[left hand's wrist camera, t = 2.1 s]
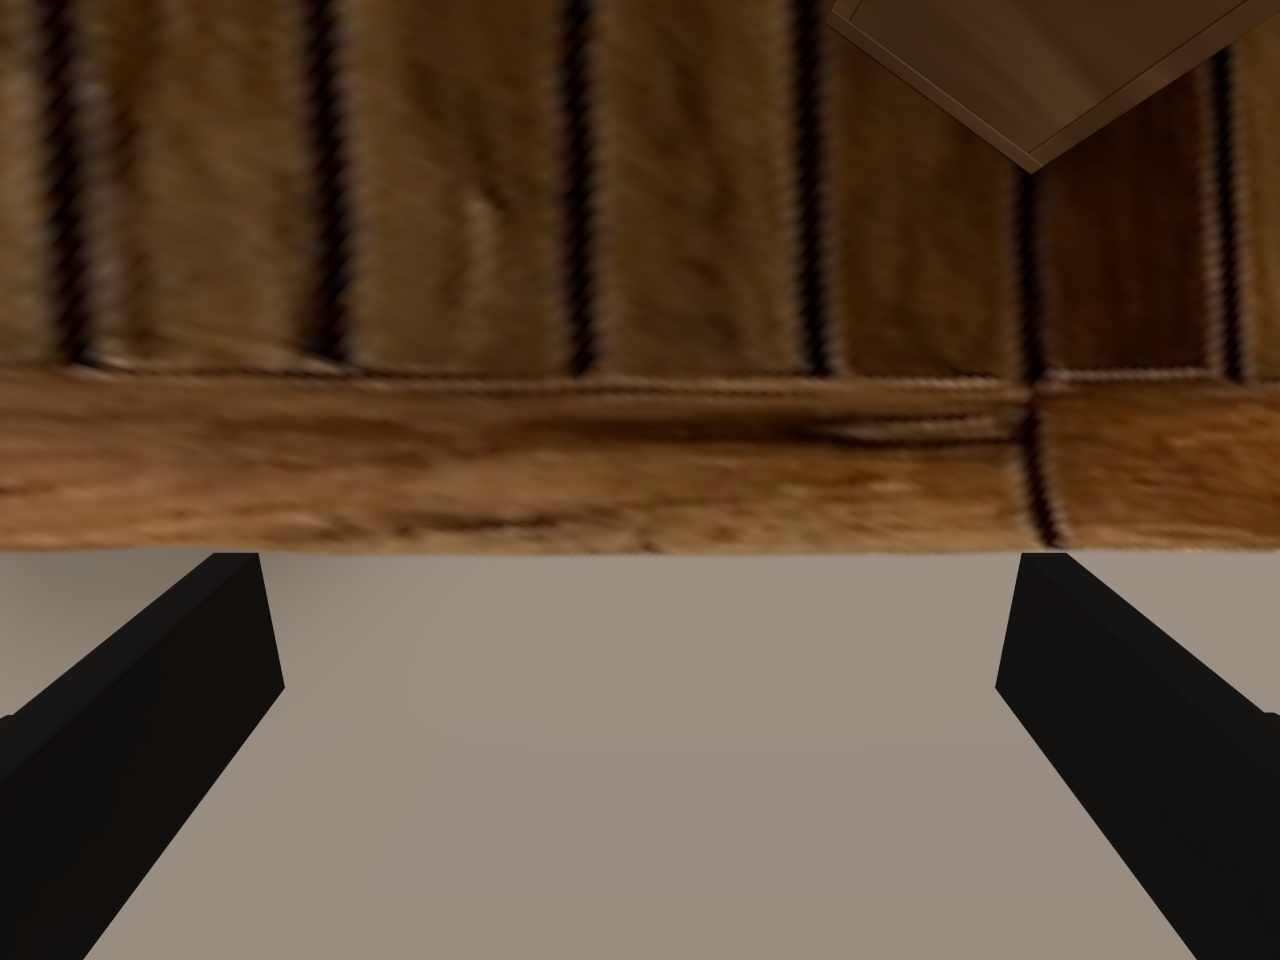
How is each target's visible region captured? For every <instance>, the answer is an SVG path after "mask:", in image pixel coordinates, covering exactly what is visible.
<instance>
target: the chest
mask: <svg viewBox="0 0 1280 960" xmlns="http://www.w3.org/2000/svg"><path fill="white" fill-rule="evenodd" d="M1278 12H1280V0H837V1H836V3H835V5H834V7H833V8H832V10H831V12H830V13H829V15H828V17H827V19H826V20H825V23H827V24H828V25H829V26H831V27H832V28H833V29H835V30H836V31H837V32H839V33H840V34H841V35H843V36H844V37H845V38H847V39H848V40H850V41H851V42H852V43H854V44H855V45H856V46H858V47H859V48H860V49H862V50H863V51H864V52H866V53H867V54H869V55H870V56H871V57H873V58H874V59H875V60H877V61H878V62H879V63H881V64H882V65H883V66H885V67H886V68H888V69H889V70H890V71H892V72H893V73H894V74H896V75H897V76H898V77H900V78H901V79H902V80H904V81H905V82H906V83H908V84H909V85H911V86H912V87H913V88H915V89H916V90H917V91H919V92H920V93H921V94H923V95H924V96H925V97H927V98H928V99H930V100H931V101H932V102H934V103H935V104H936V105H938V106H939V107H940V108H942V109H943V110H944V111H946V112H947V113H949V114H950V115H951V116H953V117H954V118H955V119H957V120H958V121H959V122H961V123H962V124H963V125H965V126H966V127H967V128H969V129H970V130H972V131H973V132H974V133H976V134H977V135H978V136H980V137H981V138H982V139H984V140H985V141H986V142H988V143H989V144H991V145H992V146H993V147H995V148H996V149H997V150H999V151H1000V152H1001V153H1003V154H1004V155H1005V156H1007V157H1008V158H1010V159H1011V160H1012V161H1014V162H1015V163H1016V164H1018V165H1019V166H1020V167H1022V168H1023V169H1024V170H1026V171H1027V172H1028V173H1030V174H1032V173H1034V172H1035V171H1037V170H1038V169H1040V168H1042V167H1043V166H1044V165H1046V164H1047V163H1049V162H1050V161H1052V160H1053V159H1055V158H1056V157H1058V156H1059V155H1061V154H1062V153H1064V152H1066V151H1067V150H1069V149H1070V148H1072V147H1073V146H1075V145H1076V144H1078V143H1079V142H1081V141H1082V140H1084V139H1085V138H1087V137H1088V136H1090V135H1091V134H1093V133H1095V132H1096V131H1098V130H1099V129H1101V128H1102V127H1104V126H1105V125H1107V124H1108V123H1110V122H1111V121H1113V120H1114V119H1116V118H1117V117H1119V116H1121V115H1122V114H1124V113H1125V112H1127V111H1128V110H1130V109H1131V108H1133V107H1134V106H1136V105H1137V104H1139V103H1140V102H1142V101H1143V100H1145V99H1147V98H1148V97H1150V96H1151V95H1153V94H1154V93H1156V92H1157V91H1159V90H1160V89H1162V88H1163V87H1165V86H1166V85H1168V84H1169V83H1171V82H1173V81H1174V80H1176V79H1177V78H1179V77H1180V76H1182V75H1183V74H1185V73H1186V72H1188V71H1189V70H1191V69H1192V68H1194V67H1195V66H1197V65H1199V64H1200V63H1202V62H1203V61H1205V60H1206V59H1208V58H1209V57H1211V56H1212V55H1214V54H1215V53H1217V52H1218V51H1220V50H1221V49H1223V48H1224V47H1226V46H1228V45H1229V44H1231V43H1232V42H1234V41H1235V40H1237V39H1238V38H1240V37H1241V36H1243V35H1244V34H1246V33H1247V32H1249V31H1250V30H1252V29H1254V28H1255V27H1257V26H1258V25H1260V24H1261V23H1263V22H1264V21H1266V20H1267V19H1269V18H1270V17H1272V16H1273V15H1275V14H1276V13H1278Z"/></svg>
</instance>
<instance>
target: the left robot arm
mask: <svg viewBox="0 0 1280 960" xmlns="http://www.w3.org/2000/svg"><path fill="white" fill-rule="evenodd" d="M284 688H285V686H284V681H283V675H282V670H281V665H280V660H279V655H278V650H277V645H276V640H275V635H274V630H273V625H272V620H271V615H270V610H269V605H268V600H267V595H266V590H265V584H264V580H263V574H262V569H261V564H260V559H259V554H258V553H213V554H212V555H211V556H209V557H208V558H207V559H206V560H204V561H203V562H202V563H201V564H199V565H198V566H197V567H196V568H194V569H193V570H192V571H191V572H189V573H188V574H187V575H186V576H184V577H183V578H182V579H181V580H180V581H178V582H177V583H176V584H174V585H173V586H172V587H171V588H170V589H168V590H167V591H166V592H165V593H163V594H162V595H161V596H160V597H158V598H157V599H156V600H155V601H153V602H152V603H151V604H150V605H148V606H147V607H146V608H145V609H143V610H142V611H141V612H140V613H139V614H137V615H136V616H135V617H134V618H132V619H131V620H130V621H129V622H127V623H126V624H125V625H124V626H122V627H121V628H120V629H119V630H117V631H116V632H115V633H114V634H112V635H111V636H110V637H109V638H108V639H106V640H105V641H104V642H103V643H101V644H100V645H99V646H98V647H96V648H95V649H94V650H93V651H91V652H90V653H89V654H88V655H86V656H85V657H84V658H83V659H82V660H80V661H79V662H78V663H77V664H75V665H74V666H73V667H72V668H70V669H69V670H68V671H67V672H65V673H64V674H63V675H62V676H60V677H59V678H58V679H57V680H55V681H54V682H53V683H52V684H50V685H49V686H48V687H47V688H45V689H44V690H43V691H42V692H41V693H39V694H38V695H37V696H36V697H34V698H33V699H32V700H31V701H29V702H28V703H27V704H26V705H24V706H23V707H22V708H21V709H19V710H18V711H17V712H16V713H14V714H13V715H6V716H4V717H2V718H1V719H0V960H83V959H84V958H85V957H86V955H87V954H88V953H89V951H90V950H91V949H92V947H93V946H94V944H95V943H96V942H97V940H98V939H99V938H100V936H101V935H102V934H103V932H104V931H105V930H106V928H107V927H108V926H109V924H110V923H111V922H112V920H113V919H114V917H115V916H116V915H117V913H118V912H119V911H120V909H121V908H122V907H123V905H124V904H125V903H126V901H127V900H128V899H129V897H130V896H131V895H132V893H133V892H134V891H135V889H136V888H137V887H138V885H139V884H140V882H141V881H142V880H143V878H144V877H145V876H146V874H147V873H148V872H149V870H150V869H151V868H152V866H153V865H154V864H155V862H156V861H157V860H158V858H159V857H160V856H161V854H162V853H163V851H164V850H165V849H166V847H167V846H168V845H169V843H170V842H171V841H172V839H173V838H174V837H175V835H176V834H177V833H178V831H179V830H180V829H181V827H182V826H183V824H184V823H185V822H186V820H187V819H188V818H189V816H190V815H191V814H192V812H193V811H194V810H195V808H196V807H197V806H198V804H199V803H200V802H201V800H202V799H203V798H204V796H205V795H206V794H207V792H208V791H209V789H210V788H211V787H212V785H213V784H214V783H215V781H216V780H217V779H218V777H219V776H220V775H221V773H222V772H223V771H224V769H225V768H226V767H227V765H228V764H229V763H230V761H231V760H232V758H233V757H234V756H235V754H236V753H237V752H238V750H239V749H240V748H241V746H242V745H243V744H244V742H245V741H246V740H247V738H248V737H249V735H250V734H251V733H252V731H253V730H254V729H255V727H256V726H257V725H258V723H259V722H260V721H261V719H262V718H263V717H264V715H265V714H266V713H267V711H268V710H269V709H270V707H271V706H272V705H273V703H274V702H275V701H276V699H277V698H278V696H279V695H280V694H281V692H282V691H283V690H284ZM995 688H996V690H997V691H998V692H999V694H1000V695H1001V696H1002V698H1003V699H1004V701H1005V702H1006V703H1007V705H1008V706H1009V707H1010V708H1011V710H1012V711H1013V713H1014V714H1015V715H1016V717H1017V718H1018V719H1019V721H1020V722H1021V723H1022V725H1023V726H1024V727H1025V729H1026V730H1027V731H1028V733H1029V734H1030V736H1031V737H1032V738H1033V740H1034V741H1035V742H1036V744H1037V745H1038V746H1039V748H1040V749H1041V750H1042V752H1043V753H1044V754H1045V756H1046V757H1047V758H1048V760H1049V761H1050V762H1051V764H1052V765H1053V767H1054V768H1055V769H1056V771H1057V772H1058V773H1059V775H1060V776H1061V777H1062V779H1063V780H1064V781H1065V783H1066V784H1067V785H1068V787H1069V788H1070V789H1071V791H1072V792H1073V793H1074V795H1075V796H1076V798H1077V799H1078V800H1079V802H1080V803H1081V804H1082V806H1083V807H1084V808H1085V810H1086V811H1087V812H1088V814H1089V815H1090V816H1091V818H1092V819H1093V820H1094V822H1095V823H1096V824H1097V826H1098V827H1099V829H1100V830H1101V831H1102V833H1103V834H1104V835H1105V837H1106V838H1107V839H1108V841H1109V842H1110V843H1111V845H1112V846H1113V847H1114V849H1115V850H1116V851H1117V853H1118V854H1119V855H1120V857H1121V858H1122V860H1123V861H1124V862H1125V864H1126V865H1127V866H1128V868H1129V869H1130V870H1131V872H1132V873H1133V874H1134V876H1135V877H1136V878H1137V880H1138V881H1139V882H1140V884H1141V885H1142V887H1143V888H1144V889H1145V891H1146V892H1147V893H1148V895H1149V896H1150V897H1151V899H1152V900H1153V901H1154V903H1155V904H1156V905H1157V907H1158V908H1159V909H1160V911H1161V912H1162V913H1163V915H1164V916H1165V918H1166V919H1167V920H1168V922H1169V923H1170V924H1171V926H1172V927H1173V928H1174V930H1175V931H1176V932H1177V934H1178V935H1179V936H1180V938H1181V939H1182V940H1183V942H1184V943H1185V944H1186V946H1187V947H1188V949H1189V950H1190V951H1191V953H1192V954H1193V955H1194V957H1195V958H1196V959H1197V960H1280V715H1278V714H1276V713H1264V712H1263V711H1262V710H1260V709H1259V708H1258V707H1257V706H1256V705H1254V704H1253V703H1252V702H1251V701H1249V700H1248V699H1247V698H1246V697H1244V696H1243V695H1242V694H1241V693H1239V692H1238V691H1237V690H1236V689H1234V688H1233V687H1232V686H1231V685H1229V684H1228V683H1227V682H1226V681H1225V680H1223V679H1222V678H1221V677H1220V676H1218V675H1217V674H1216V673H1215V672H1213V671H1212V670H1211V669H1210V668H1208V667H1207V666H1206V665H1205V664H1204V663H1202V662H1201V661H1200V660H1199V659H1197V658H1196V657H1195V656H1194V655H1192V654H1191V653H1190V652H1189V651H1187V650H1186V649H1185V648H1184V647H1182V646H1181V645H1180V644H1179V643H1177V642H1176V641H1175V640H1174V639H1172V638H1171V637H1170V636H1169V635H1168V634H1166V633H1165V632H1164V631H1163V630H1161V629H1160V628H1159V627H1158V626H1156V625H1155V624H1154V623H1153V622H1151V621H1150V620H1149V619H1148V618H1146V617H1145V616H1144V615H1143V614H1141V613H1140V612H1139V611H1138V610H1136V609H1135V608H1134V607H1133V606H1131V605H1130V604H1129V603H1128V602H1127V601H1125V600H1124V599H1123V598H1122V597H1120V596H1119V595H1118V594H1117V593H1115V592H1114V591H1113V590H1112V589H1110V588H1109V587H1108V586H1107V585H1106V584H1104V583H1103V582H1102V581H1101V580H1099V579H1098V578H1097V577H1096V576H1094V575H1093V574H1092V573H1091V572H1089V571H1088V570H1087V569H1086V568H1084V567H1083V566H1082V565H1081V564H1079V563H1078V562H1077V561H1076V560H1075V559H1073V558H1072V557H1071V556H1070V555H1068V554H1067V553H1022V554H1021V559H1020V564H1019V569H1018V574H1017V579H1016V585H1015V590H1014V595H1013V600H1012V605H1011V610H1010V615H1009V620H1008V625H1007V630H1006V635H1005V640H1004V645H1003V650H1002V655H1001V661H1000V665H999V670H998V675H997V681H996V686H995Z"/></svg>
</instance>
